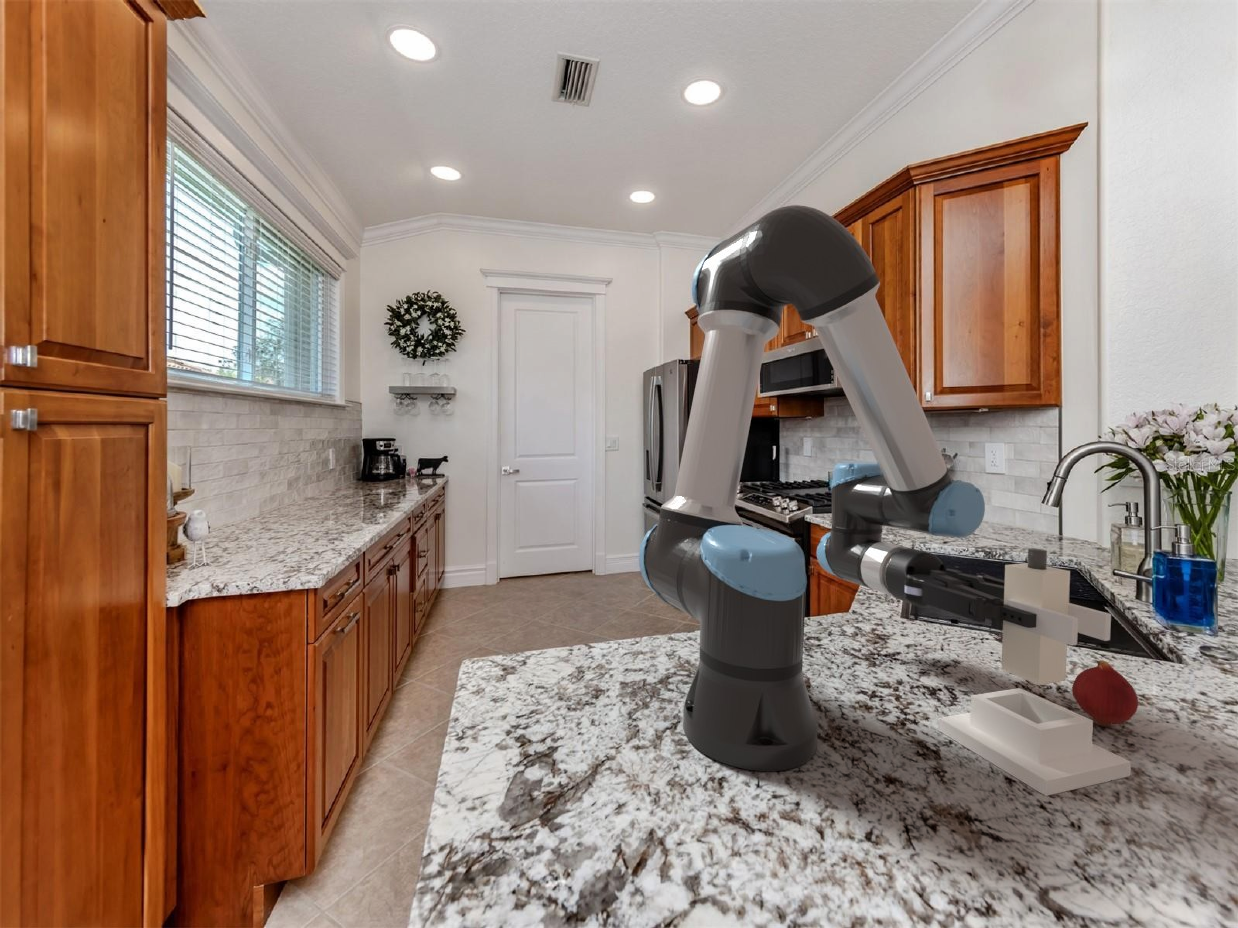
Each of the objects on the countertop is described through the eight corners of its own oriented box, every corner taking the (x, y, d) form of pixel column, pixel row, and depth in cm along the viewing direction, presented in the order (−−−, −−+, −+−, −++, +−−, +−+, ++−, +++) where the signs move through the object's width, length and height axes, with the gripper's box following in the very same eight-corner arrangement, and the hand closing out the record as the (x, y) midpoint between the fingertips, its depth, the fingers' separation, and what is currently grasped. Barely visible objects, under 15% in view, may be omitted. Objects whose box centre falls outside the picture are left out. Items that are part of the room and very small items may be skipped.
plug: (1001, 669, 59) (1005, 547, 58) (1027, 665, 60) (1031, 545, 59) (1038, 685, 55) (1043, 554, 54) (1065, 680, 56) (1070, 552, 55)
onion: (1108, 714, 66) (1111, 653, 66) (1150, 740, 60) (1154, 672, 60) (1059, 711, 67) (1062, 650, 66) (1096, 736, 61) (1099, 669, 61)
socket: (938, 730, 62) (939, 689, 61) (1013, 717, 65) (1014, 678, 65) (1045, 796, 50) (1048, 745, 50) (1130, 776, 53) (1132, 728, 53)
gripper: (949, 594, 77) (1147, 657, 54) (853, 603, 72) (1027, 676, 50) (950, 544, 77) (1150, 586, 54) (855, 550, 72) (1030, 599, 49)
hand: (1091, 629), depth 52 cm, fingers closed on plug, 4 cm apart
